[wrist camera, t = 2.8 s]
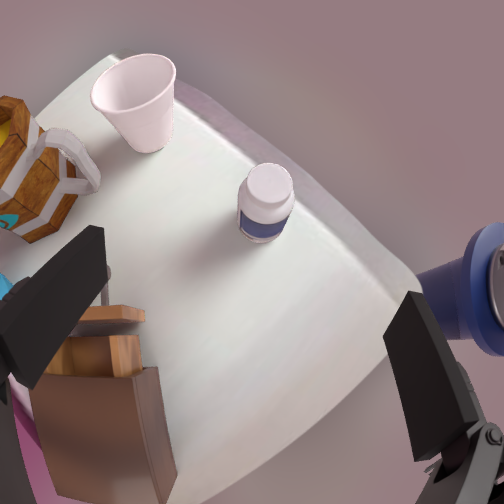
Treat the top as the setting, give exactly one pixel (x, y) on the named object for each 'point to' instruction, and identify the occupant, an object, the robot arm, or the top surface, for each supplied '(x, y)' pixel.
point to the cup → (138, 100)
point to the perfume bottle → (4, 285)
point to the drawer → (101, 344)
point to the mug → (38, 173)
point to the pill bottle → (265, 202)
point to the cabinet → (105, 437)
